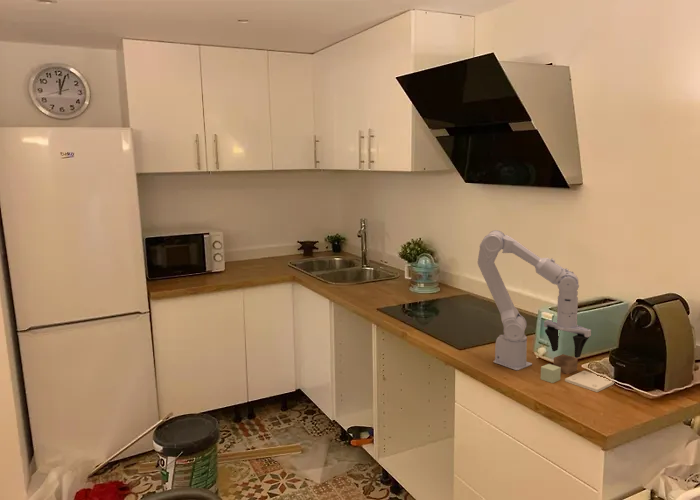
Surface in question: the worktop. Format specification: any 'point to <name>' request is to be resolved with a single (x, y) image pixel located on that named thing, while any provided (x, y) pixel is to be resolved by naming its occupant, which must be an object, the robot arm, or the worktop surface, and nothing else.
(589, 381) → the plate
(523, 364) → the robot arm
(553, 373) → the sage brick
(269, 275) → the worktop surface
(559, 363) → the walnut brick
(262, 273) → the worktop surface
